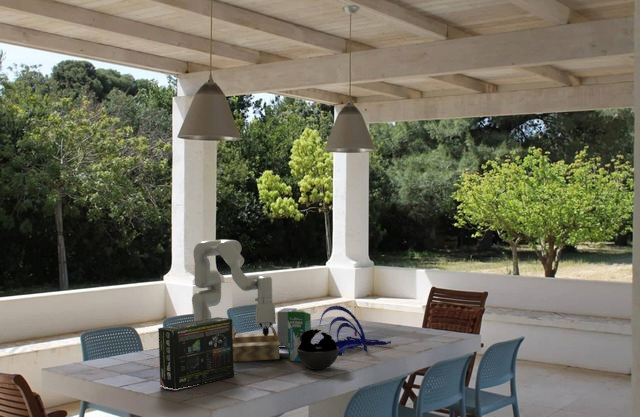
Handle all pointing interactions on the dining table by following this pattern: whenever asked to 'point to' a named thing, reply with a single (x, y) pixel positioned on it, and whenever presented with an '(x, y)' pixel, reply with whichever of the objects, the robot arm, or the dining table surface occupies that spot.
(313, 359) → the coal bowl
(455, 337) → the dining table surface
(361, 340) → the sculpture
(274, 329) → the right flap
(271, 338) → the carton
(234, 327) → the left flap
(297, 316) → the milk carton
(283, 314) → the hard drive box
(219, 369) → the router box
